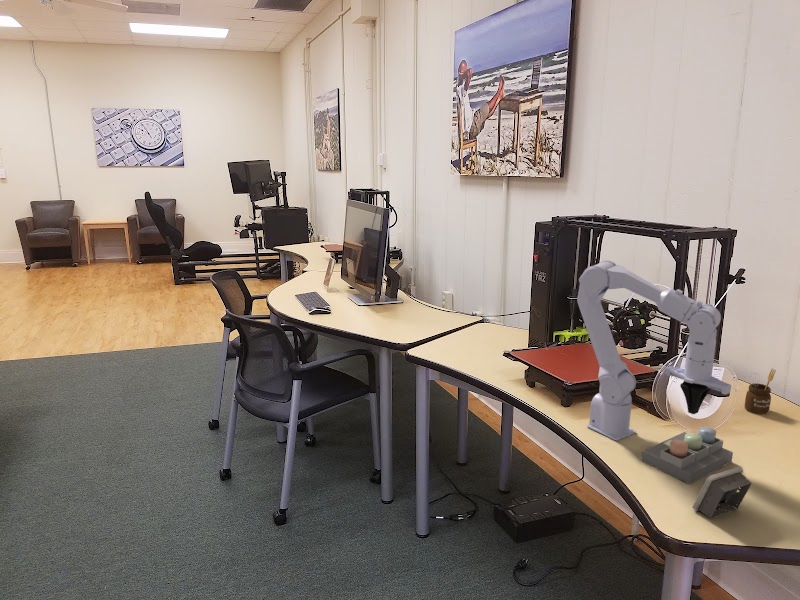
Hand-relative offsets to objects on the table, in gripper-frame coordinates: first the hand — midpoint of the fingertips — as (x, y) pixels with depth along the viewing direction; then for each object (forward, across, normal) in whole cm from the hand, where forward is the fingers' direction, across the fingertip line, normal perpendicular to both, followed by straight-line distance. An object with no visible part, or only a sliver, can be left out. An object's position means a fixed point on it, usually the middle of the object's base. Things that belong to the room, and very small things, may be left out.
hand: (693, 412), depth 138 cm
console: (+10, +2, -4) cm, 11 cm away
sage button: (+6, +3, -4) cm, 8 cm away
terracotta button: (+6, +3, -10) cm, 12 cm away
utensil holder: (+11, -2, +37) cm, 39 cm away
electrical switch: (+11, +17, -17) cm, 26 cm away
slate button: (+6, +3, +1) cm, 7 cm away
